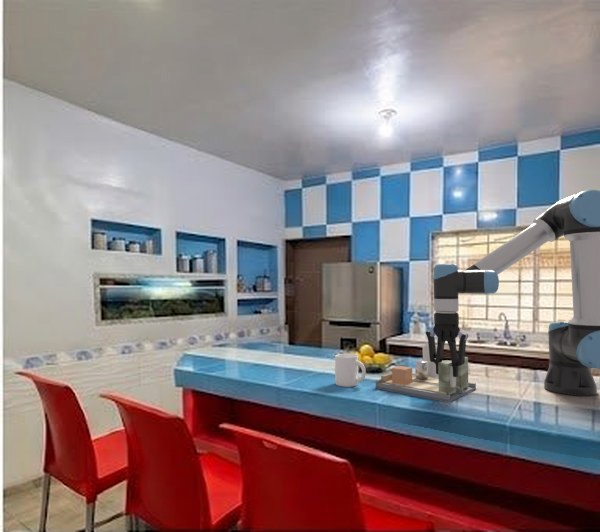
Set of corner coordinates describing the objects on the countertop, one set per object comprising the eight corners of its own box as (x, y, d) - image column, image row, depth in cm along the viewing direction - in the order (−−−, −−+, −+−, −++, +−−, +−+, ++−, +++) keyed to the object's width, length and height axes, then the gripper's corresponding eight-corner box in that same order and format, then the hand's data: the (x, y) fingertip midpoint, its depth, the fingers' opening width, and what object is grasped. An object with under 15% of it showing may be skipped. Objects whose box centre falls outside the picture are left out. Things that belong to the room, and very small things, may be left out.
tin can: (430, 378, 154) (430, 361, 154) (424, 380, 151) (424, 363, 151) (419, 376, 157) (418, 360, 157) (413, 378, 154) (413, 361, 154)
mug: (371, 385, 152) (371, 356, 152) (358, 390, 145) (358, 359, 146) (343, 380, 159) (343, 352, 160) (330, 384, 153) (330, 355, 154)
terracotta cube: (412, 382, 148) (412, 367, 148) (405, 384, 144) (405, 369, 144) (399, 380, 151) (399, 365, 151) (392, 382, 147) (391, 367, 147)
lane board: (475, 389, 146) (475, 381, 147) (448, 402, 130) (448, 393, 130) (407, 377, 164) (407, 370, 164) (375, 388, 148) (375, 380, 148)
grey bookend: (436, 379, 161) (436, 347, 162) (420, 377, 166) (419, 345, 166) (446, 375, 169) (446, 344, 170) (430, 372, 173) (430, 343, 174)
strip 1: (456, 392, 138) (456, 360, 139) (446, 396, 133) (446, 364, 133) (392, 380, 154) (392, 353, 155) (381, 384, 149) (381, 355, 149)
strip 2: (469, 386, 146) (468, 356, 146) (460, 390, 141) (459, 359, 141) (406, 376, 162) (406, 349, 162) (396, 379, 156) (396, 352, 157)
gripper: (475, 312, 135) (477, 387, 134) (427, 310, 146) (428, 380, 145) (466, 313, 129) (467, 392, 128) (417, 311, 140) (418, 383, 139)
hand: (447, 385), depth 137 cm, fingers closed on strip 1, 3 cm apart
